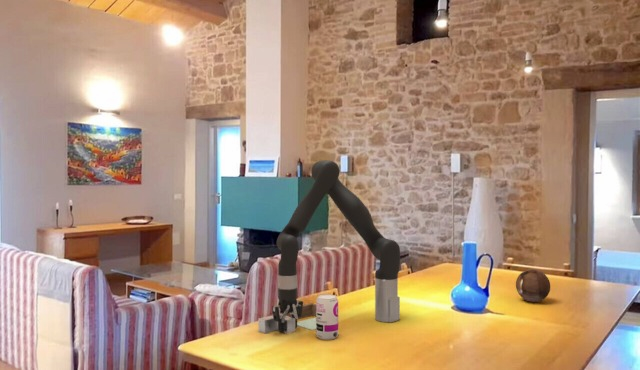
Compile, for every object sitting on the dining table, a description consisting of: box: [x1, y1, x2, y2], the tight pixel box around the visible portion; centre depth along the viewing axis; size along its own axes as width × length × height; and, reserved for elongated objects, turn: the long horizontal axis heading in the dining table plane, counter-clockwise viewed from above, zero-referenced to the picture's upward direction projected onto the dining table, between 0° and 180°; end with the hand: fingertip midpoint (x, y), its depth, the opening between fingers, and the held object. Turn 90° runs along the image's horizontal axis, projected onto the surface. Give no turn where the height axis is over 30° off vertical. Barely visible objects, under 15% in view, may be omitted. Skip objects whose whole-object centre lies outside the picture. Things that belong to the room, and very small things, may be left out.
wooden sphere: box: [515, 268, 551, 303], centre depth 250 cm, size 15×15×15 cm
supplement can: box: [315, 294, 339, 341], centre depth 197 cm, size 8×8×15 cm
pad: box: [297, 317, 316, 331], centre depth 214 cm, size 12×12×1 cm
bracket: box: [258, 314, 296, 334], centre depth 205 cm, size 10×10×5 cm
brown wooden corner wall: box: [282, 302, 316, 320], centre depth 218 cm, size 14×19×5 cm
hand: (287, 330), depth 205 cm, fingers open, 5 cm apart
